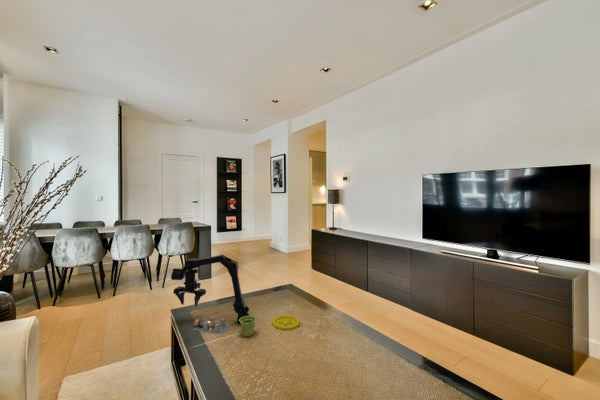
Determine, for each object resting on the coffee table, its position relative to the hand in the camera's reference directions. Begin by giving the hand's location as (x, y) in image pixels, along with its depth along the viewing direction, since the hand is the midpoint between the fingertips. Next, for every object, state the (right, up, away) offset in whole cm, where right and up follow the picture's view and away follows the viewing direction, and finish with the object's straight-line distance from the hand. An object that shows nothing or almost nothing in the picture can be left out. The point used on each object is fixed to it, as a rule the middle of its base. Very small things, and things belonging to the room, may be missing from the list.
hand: (189, 305), depth 162 cm
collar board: (+15, -13, -4) cm, 20 cm away
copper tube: (+10, -12, -3) cm, 16 cm away
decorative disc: (+58, -14, +6) cm, 60 cm away
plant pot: (+37, -14, -8) cm, 40 cm away
